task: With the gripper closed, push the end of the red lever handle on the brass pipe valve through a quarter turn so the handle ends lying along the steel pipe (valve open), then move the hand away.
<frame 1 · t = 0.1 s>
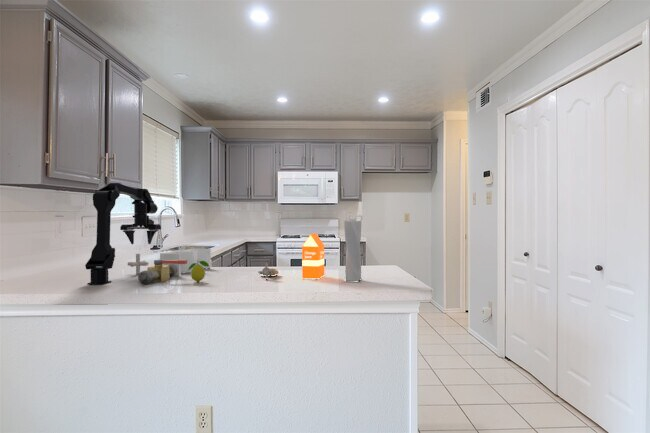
hand: (140, 244, 180), 15 cm above the countertop, tool pointing down, fingers open, 9 cm apart
valve: (268, 278, 162), on the countertop
valve body: (158, 280, 157), on the countertop
storage container: (186, 272, 182), on the countertop
orange juice: (313, 278, 159), on the countertop
lever: (170, 262, 157), point 8 cm above the countertop, hinge at 0.0°
pipe connector: (138, 274, 177), on the countertop
lemon: (198, 282, 152), on the countertop
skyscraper: (353, 281, 151), on the countertop
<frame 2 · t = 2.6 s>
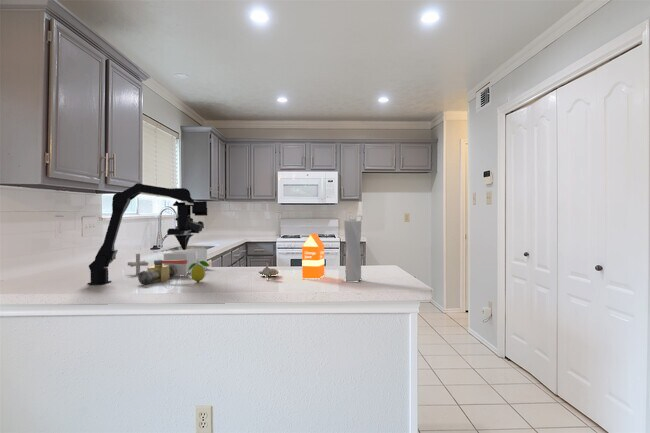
hand: (184, 249, 163), 13 cm above the countertop, tool pointing down, fingers closed
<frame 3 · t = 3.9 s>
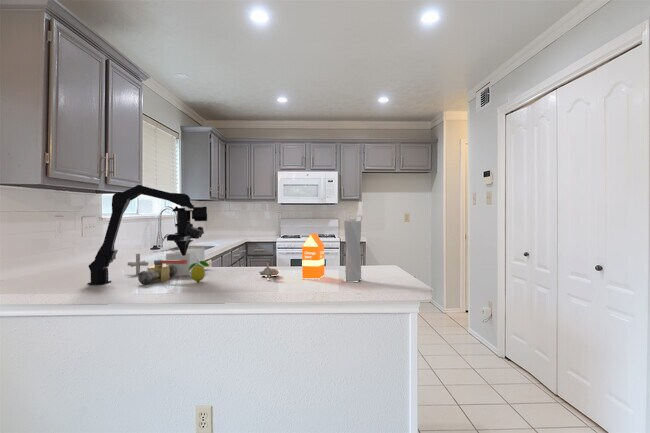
hand: (183, 255, 162), 10 cm above the countertop, tool pointing down, fingers closed
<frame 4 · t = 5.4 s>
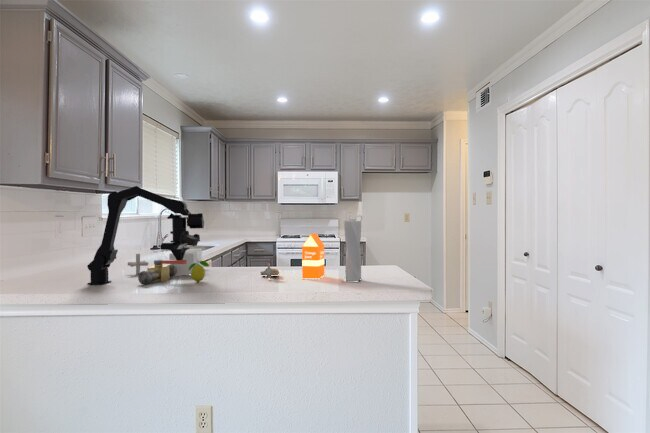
hand: (179, 263, 158), 7 cm above the countertop, tool pointing down, fingers closed
lever: (169, 262, 156), point 8 cm above the countertop, hinge at 3.6°, touching gripper
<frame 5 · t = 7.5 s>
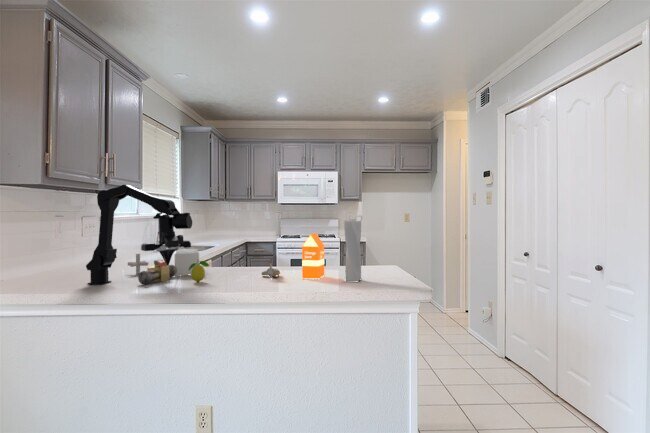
hand: (167, 265, 151), 7 cm above the countertop, tool pointing down, fingers closed
lever: (160, 263, 153), point 8 cm above the countertop, hinge at 49.7°, touching gripper
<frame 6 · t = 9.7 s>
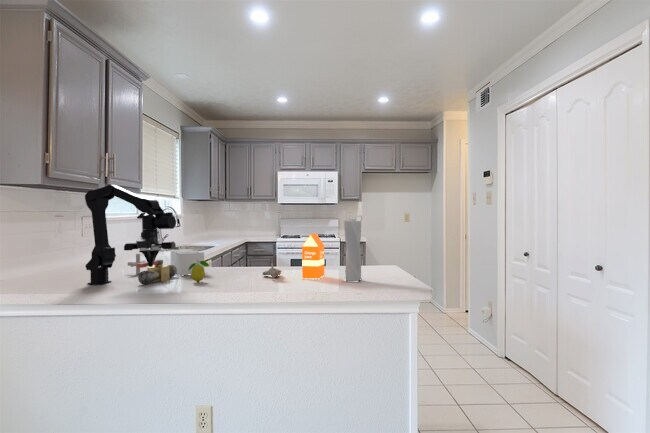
hand: (150, 266, 148), 7 cm above the countertop, tool pointing down, fingers closed
lever: (150, 263, 152), point 8 cm above the countertop, hinge at 91.3°
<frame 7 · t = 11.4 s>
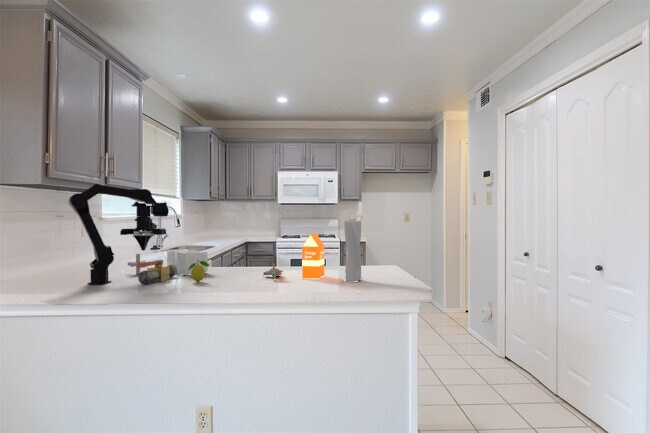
hand: (143, 250, 163), 13 cm above the countertop, tool pointing down, fingers closed
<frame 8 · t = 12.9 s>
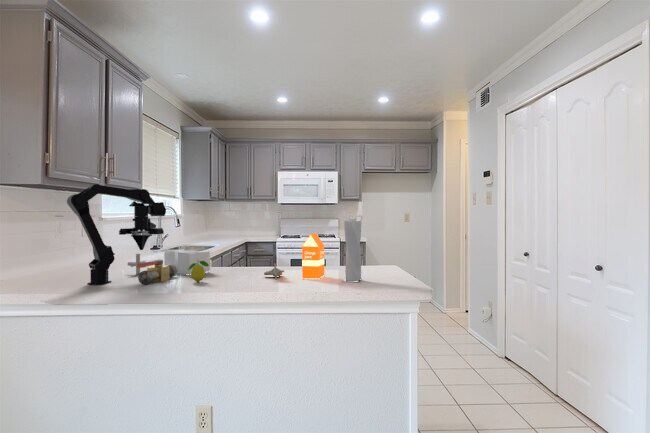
hand: (141, 250, 165), 13 cm above the countertop, tool pointing down, fingers closed
at the end: lever at +91° (first picture: +0°); the gripper is holding nothing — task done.
